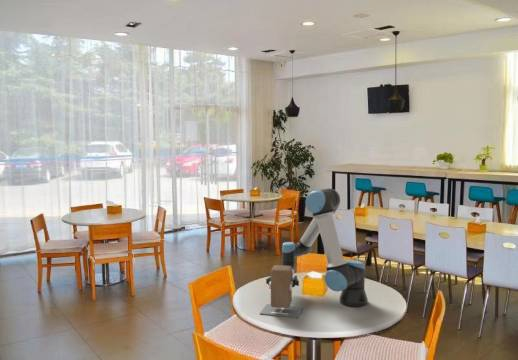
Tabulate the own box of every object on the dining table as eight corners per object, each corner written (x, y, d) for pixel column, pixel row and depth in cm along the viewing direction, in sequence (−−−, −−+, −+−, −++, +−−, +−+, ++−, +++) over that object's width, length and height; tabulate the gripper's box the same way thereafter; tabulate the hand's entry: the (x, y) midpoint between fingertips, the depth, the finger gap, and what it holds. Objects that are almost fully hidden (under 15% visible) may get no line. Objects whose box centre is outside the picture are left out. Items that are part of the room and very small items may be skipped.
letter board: (303, 308, 251) (303, 307, 251) (297, 318, 238) (297, 317, 237) (266, 305, 256) (266, 303, 256) (259, 314, 243) (259, 313, 243)
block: (289, 309, 241) (289, 270, 239) (270, 307, 243) (270, 269, 241) (291, 302, 251) (292, 265, 249) (273, 300, 253) (273, 264, 251)
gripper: (306, 282, 262) (302, 295, 240) (266, 279, 266) (258, 292, 244) (306, 269, 261) (302, 281, 239) (266, 266, 265) (258, 278, 244)
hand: (280, 287), depth 242 cm, fingers closed on block, 10 cm apart
